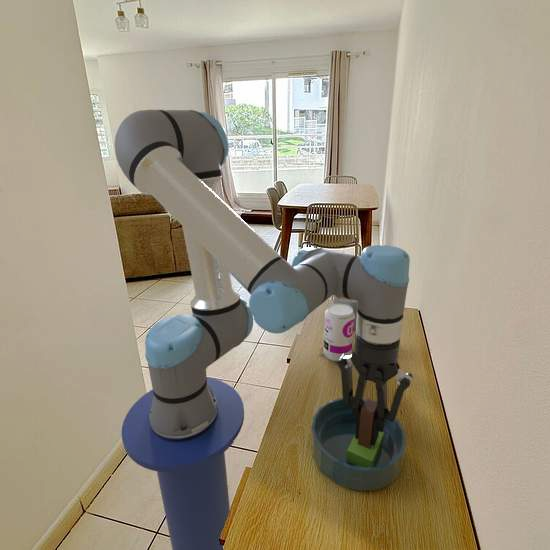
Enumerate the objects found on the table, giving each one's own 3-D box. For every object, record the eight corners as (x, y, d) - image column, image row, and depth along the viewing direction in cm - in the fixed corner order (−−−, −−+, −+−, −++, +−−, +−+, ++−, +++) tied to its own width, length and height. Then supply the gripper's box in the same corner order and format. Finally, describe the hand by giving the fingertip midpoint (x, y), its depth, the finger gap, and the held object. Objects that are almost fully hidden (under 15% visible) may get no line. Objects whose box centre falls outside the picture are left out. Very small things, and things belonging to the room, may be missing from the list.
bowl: (295, 465, 70) (296, 443, 68) (331, 407, 85) (332, 387, 82) (388, 511, 62) (392, 487, 59) (410, 438, 76) (414, 417, 74)
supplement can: (356, 354, 104) (361, 309, 99) (339, 366, 99) (343, 319, 93) (334, 343, 110) (337, 300, 104) (317, 354, 105) (319, 309, 99)
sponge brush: (371, 472, 67) (376, 424, 63) (346, 461, 70) (349, 414, 65) (382, 443, 74) (388, 397, 69) (359, 433, 76) (363, 388, 72)
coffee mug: (336, 312, 128) (337, 287, 124) (364, 317, 125) (366, 291, 121) (326, 330, 117) (327, 303, 113) (357, 336, 113) (359, 309, 109)
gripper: (327, 333, 62) (322, 434, 71) (420, 359, 55) (402, 469, 64) (342, 315, 68) (336, 410, 77) (428, 336, 61) (411, 439, 70)
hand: (366, 437), depth 70 cm, fingers closed on sponge brush, 2 cm apart
